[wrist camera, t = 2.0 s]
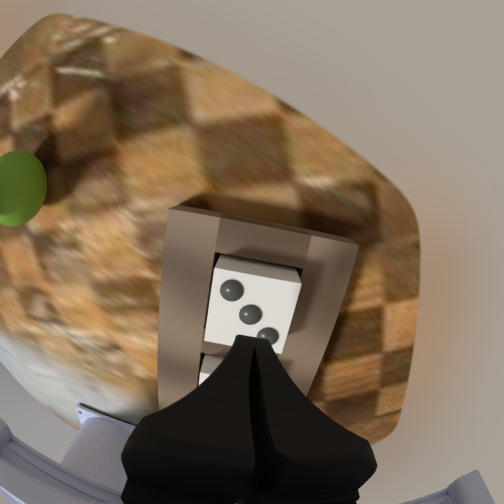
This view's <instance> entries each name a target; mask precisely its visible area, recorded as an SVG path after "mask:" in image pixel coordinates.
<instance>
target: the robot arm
mask: <svg viewBox="0 0 504 504" xmlns="http://www.w3.org/2000/svg"><path fill="white" fill-rule="evenodd" d="M76 410H77V413H78V416H79V419H80V421H81V424H82V426H81V428H80V429H79V431H78V433H77V434H76V436H75V438H74V440H73V441H72V443H71V445H70V447H69V449H68V450H67V452H66V454H65V456H64V457H63V459H62V461H61V463H60V464H59V463H57V462H55V461H53V460H51V459H50V458H48V457H46V456H44V455H43V454H41V453H39V452H38V451H36V450H35V449H33V448H31V447H30V446H28V445H27V444H25V443H24V442H22V441H21V440H19V439H18V438H16V437H15V436H13V435H12V432H11V430H10V429H9V427H8V425H7V424H6V423H5V422H4V421H3V420H2V419H1V418H0V493H1V494H2V495H4V496H5V497H6V498H8V499H9V500H10V501H12V502H13V503H14V504H236V503H237V504H356V501H357V500H358V499H359V497H360V496H359V492H358V489H359V488H360V487H361V486H362V485H363V484H364V483H365V482H366V481H367V480H368V479H369V478H370V477H371V476H372V475H373V474H374V472H375V471H376V468H377V463H376V460H375V457H374V453H373V450H372V449H371V446H370V444H369V442H368V441H367V440H366V439H364V438H362V437H360V436H358V435H356V434H354V433H352V432H351V431H349V430H347V429H345V428H344V427H342V426H341V425H339V424H338V423H336V422H335V421H333V420H332V419H331V418H329V417H328V416H327V415H326V414H324V413H323V412H322V411H321V410H320V409H319V408H317V407H316V406H315V405H314V404H313V403H312V402H311V401H310V400H309V399H308V398H307V397H306V396H305V395H304V394H303V393H302V392H301V391H300V389H299V388H298V387H297V386H296V384H295V383H294V382H293V380H292V379H291V378H290V376H289V375H288V373H287V372H286V370H285V369H284V367H283V365H282V364H281V362H280V360H279V359H278V357H277V355H276V353H275V351H274V349H273V347H272V345H271V343H270V341H269V340H268V339H263V338H257V337H251V336H245V335H240V334H238V335H237V336H235V340H234V343H233V345H232V347H231V348H230V350H229V352H228V353H227V355H226V356H225V358H224V359H223V360H222V362H221V363H220V364H219V365H218V366H217V368H216V369H215V370H214V371H213V372H212V373H211V374H210V375H209V376H208V377H207V378H206V379H205V380H204V381H203V382H202V383H201V384H200V385H199V386H197V387H196V388H195V389H194V390H192V391H191V392H190V393H188V394H187V395H186V396H184V397H183V398H181V399H179V400H178V401H176V402H174V403H173V404H171V405H169V406H168V407H166V408H164V409H162V410H159V411H157V412H155V413H152V414H150V415H148V416H145V417H143V418H142V420H141V421H140V422H139V423H138V424H137V426H134V425H131V424H128V423H125V422H122V421H119V420H116V419H114V418H111V417H108V416H106V415H103V414H100V413H98V412H95V411H93V410H90V409H88V408H86V407H83V406H81V405H77V406H76ZM401 504H495V503H494V501H493V499H492V497H491V495H490V493H489V491H488V489H487V487H486V485H485V483H484V481H483V479H482V477H481V475H480V473H479V471H478V470H475V471H472V472H470V473H468V474H466V475H463V476H461V477H460V478H458V479H457V480H455V481H454V482H453V483H451V484H450V485H449V486H448V487H447V488H446V489H444V490H441V491H439V492H436V493H433V494H430V495H427V496H424V497H421V498H418V499H415V500H412V501H408V502H405V503H401Z"/></svg>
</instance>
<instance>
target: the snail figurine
mask: <svg viewBox="0 0 504 504" xmlns="http://www.w3.org/2000/svg"><path fill="white" fill-rule="evenodd" d="M46 192H47V177H46V172H45V170H44V167H43V165H42V164H41V162H40V161H39V160H38V159H37V158H36V157H35V156H34V155H33V154H31V153H29V152H26V151H12V152H9V153H6V154H5V155H3V156H1V157H0V223H1V224H3V225H6V226H19V225H22V224H24V223H26V222H28V221H29V220H31V219H32V218H33V217H34V216H35V215H36V214H37V213H38V211H39V210H40V208H41V207H42V205H43V203H44V200H45V197H46Z"/></svg>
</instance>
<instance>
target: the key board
mask: <svg viewBox="0 0 504 504" xmlns="http://www.w3.org/2000/svg"><path fill="white" fill-rule="evenodd" d="M358 249H359V245H358V244H357V243H355V242H354V241H353V240H351V239H350V238H347V237H343V236H338V235H334V234H329V233H324V232H320V231H315V230H310V229H305V228H301V227H296V226H291V225H286V224H281V223H276V222H271V221H266V220H261V219H255V218H250V217H245V216H240V215H234V214H229V213H223V212H218V211H212V210H206V209H201V208H195V207H189V206H183V205H176V206H174V207H172V208H169V210H168V218H167V226H166V234H165V243H164V253H163V264H162V276H161V290H160V306H159V328H158V408H159V410H162V409H164V408H166V407H168V406H169V405H171V404H173V403H174V402H176V401H178V400H179V399H181V398H183V397H184V396H186V395H187V394H188V393H190V392H191V391H192V390H194V389H195V388H196V387H197V386H199V378H200V371H201V366H202V358H203V353H207V354H212V355H217V356H222V357H225V356H226V355H227V353H228V352H229V350H230V348H231V347H232V346H229V345H224V344H218V343H213V342H208V341H204V338H205V330H206V323H207V316H208V309H209V302H210V295H211V288H212V281H213V275H214V268H215V266H216V260H217V254H218V253H223V254H229V255H234V256H239V257H244V258H250V259H255V260H260V261H266V262H271V263H277V264H282V265H287V266H293V267H296V270H297V273H298V276H299V278H300V281H301V283H302V284H301V288H300V292H299V295H298V299H297V302H296V306H295V310H294V313H293V317H292V320H291V324H290V327H289V330H288V334H287V337H286V340H285V344H284V347H283V350H282V354H279V353H276V355H277V357H278V359H279V360H280V362H281V364H282V365H283V367H284V369H285V370H286V372H287V373H288V375H289V376H290V378H291V379H292V380H293V382H294V383H295V384H296V386H297V387H298V388H299V389H300V391H301V392H302V393H303V394H304V395H305V396H307V393H308V391H309V389H310V386H311V384H312V382H313V379H314V377H315V375H316V372H317V370H318V367H319V365H320V362H321V360H322V357H323V355H324V352H325V350H326V347H327V344H328V342H329V339H330V336H331V334H332V331H333V328H334V325H335V323H336V320H337V317H338V314H339V311H340V308H341V305H342V302H343V299H344V296H345V293H346V290H347V287H348V283H349V280H350V277H351V274H352V270H353V267H354V264H355V260H356V257H357V253H358Z"/></svg>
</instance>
